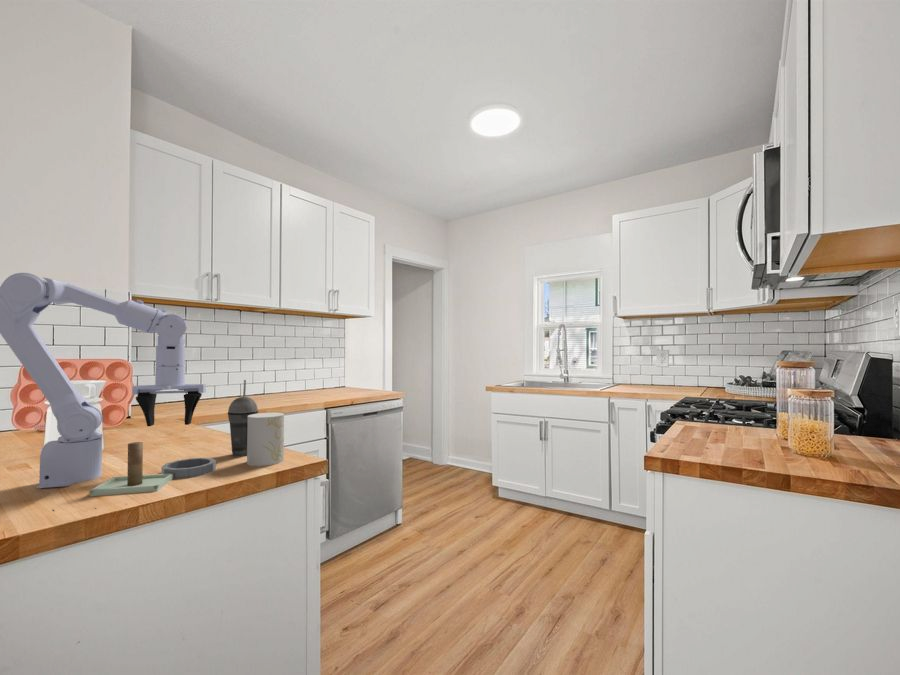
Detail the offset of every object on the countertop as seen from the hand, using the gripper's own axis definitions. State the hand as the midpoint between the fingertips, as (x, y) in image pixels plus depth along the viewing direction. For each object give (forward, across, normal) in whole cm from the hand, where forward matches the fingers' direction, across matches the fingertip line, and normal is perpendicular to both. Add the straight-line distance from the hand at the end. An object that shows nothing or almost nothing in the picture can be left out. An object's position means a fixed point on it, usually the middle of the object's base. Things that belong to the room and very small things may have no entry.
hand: (169, 424), depth 101 cm
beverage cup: (+11, +14, +9) cm, 20 cm away
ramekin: (+10, +6, -6) cm, 13 cm away
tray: (+10, -1, -15) cm, 18 cm away
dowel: (+9, -1, -15) cm, 18 cm away
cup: (+11, +21, -1) cm, 24 cm away
